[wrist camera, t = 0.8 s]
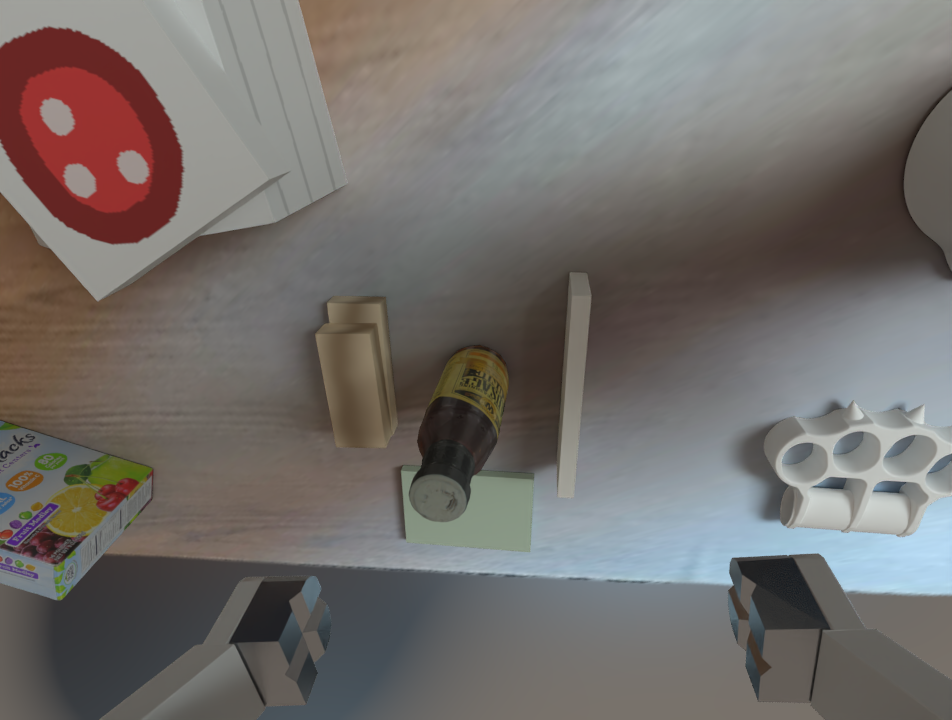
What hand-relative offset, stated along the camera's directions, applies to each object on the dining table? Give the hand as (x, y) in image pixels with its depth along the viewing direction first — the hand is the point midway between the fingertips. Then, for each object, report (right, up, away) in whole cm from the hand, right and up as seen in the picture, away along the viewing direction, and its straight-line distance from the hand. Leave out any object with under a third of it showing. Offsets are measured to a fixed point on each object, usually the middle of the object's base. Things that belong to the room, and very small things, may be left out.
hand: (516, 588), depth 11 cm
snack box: (-48, -7, +56) cm, 74 cm away
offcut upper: (-12, +2, +44) cm, 46 cm away
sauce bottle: (-1, +4, +45) cm, 45 cm away
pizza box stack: (-26, +25, +38) cm, 52 cm away
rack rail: (+8, +3, +44) cm, 45 cm away
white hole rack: (+36, -5, +45) cm, 58 cm away
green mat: (-2, -12, +52) cm, 53 cm away
